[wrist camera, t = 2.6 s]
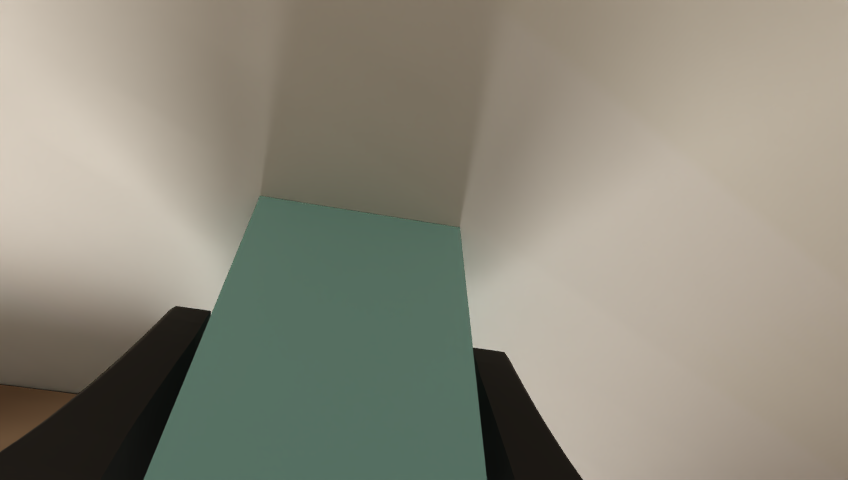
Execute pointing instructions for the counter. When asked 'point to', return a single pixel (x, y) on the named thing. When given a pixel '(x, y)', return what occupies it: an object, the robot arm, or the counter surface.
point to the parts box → (26, 410)
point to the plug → (332, 356)
